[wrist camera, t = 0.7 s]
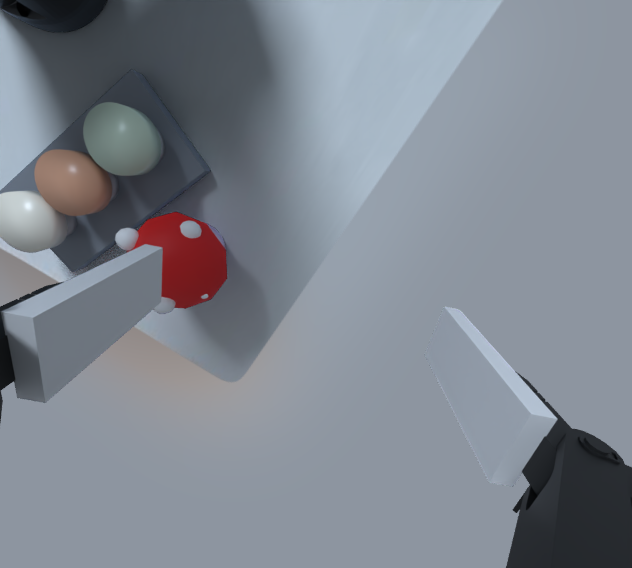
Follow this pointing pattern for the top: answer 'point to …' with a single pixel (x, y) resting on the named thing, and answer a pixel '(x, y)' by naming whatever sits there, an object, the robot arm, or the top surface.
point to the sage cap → (121, 139)
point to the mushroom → (182, 258)
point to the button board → (127, 191)
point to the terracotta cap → (72, 182)
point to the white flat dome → (30, 222)
